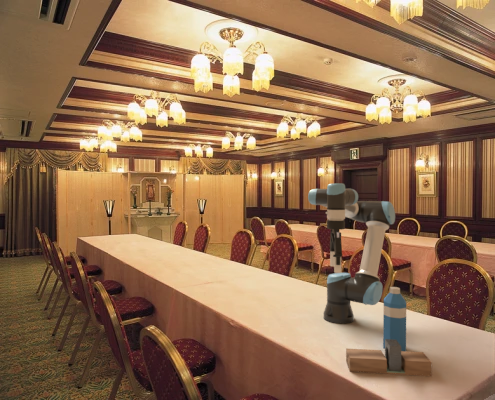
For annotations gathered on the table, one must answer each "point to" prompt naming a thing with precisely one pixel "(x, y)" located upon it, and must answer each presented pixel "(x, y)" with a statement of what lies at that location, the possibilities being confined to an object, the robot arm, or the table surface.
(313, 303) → the table surface
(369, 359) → the rail
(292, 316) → the table surface
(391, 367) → the clip
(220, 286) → the table surface
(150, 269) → the table surface
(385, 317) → the water bottle
